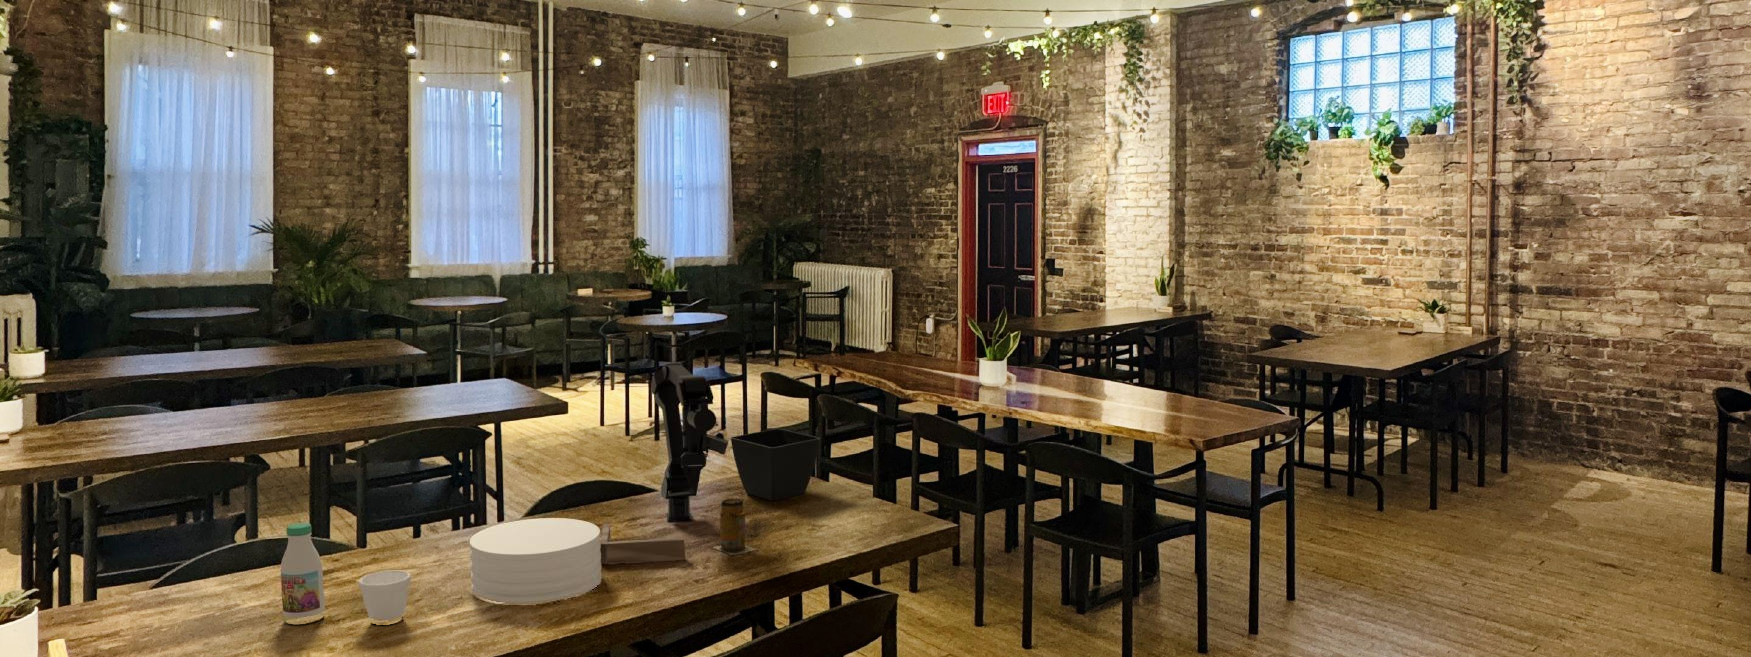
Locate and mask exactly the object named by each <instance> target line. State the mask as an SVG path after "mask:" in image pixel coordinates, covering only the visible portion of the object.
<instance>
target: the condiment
mask: <svg viewBox="0 0 1751 657" xmlns="http://www.w3.org/2000/svg"><path fill="white" fill-rule="evenodd" d="M719 514H720V516H719V518H720V520H719V522H720V523H719V525H720V526H719V527H720V533H719V534H720V545H715V546H713V547H712V548H713V549H716V550H717V551H720V552H724V553H725V554H728V555H730V556H731V555H739V554H745V553H748V552H753V551H757V549H756V548H754V547H751V546H748V545H746V512H745V510H744V501H743V500H742V499H740V498H726V499H723V500H722V501H721V511H720V513H719Z"/></svg>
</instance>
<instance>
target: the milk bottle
mask: <svg viewBox="0 0 1751 657" xmlns="http://www.w3.org/2000/svg"><path fill="white" fill-rule="evenodd" d="M312 530H313V528H312V525H311V523H310V522H309V523H308V522H297V523H292V524H289V525H287V526H286V530H285V531H286V538H287V539H288V540H287V541H288V542H287V546H286V550H285V551H284V554H283V557H282V558H281V563H280V582H281V583H280V584H281V599H282V600H281V602H282V604H281V605H282V615H284V616H286V617H287V618H301V617H307V616H313V615H317V614H319V613H321V612H323V611H324V609H325V606H326V605H325V590H324V576H323V575H324V574H323V566H322V561H321V560H322V559H321V556H320V555H319V554H320V553H319V552H318V550H317V549H316V547H315V545H314V543H313V541H312V537H311V535H313V533H312V532H313V531H312ZM325 610H326V609H325Z"/></svg>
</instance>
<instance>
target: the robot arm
mask: <svg viewBox="0 0 1751 657" xmlns="http://www.w3.org/2000/svg"><path fill="white" fill-rule="evenodd" d="M650 391H651V393H652V395H653V398H654V402H655V403H656V404H657V406H658V407H659V408H660V409H661V411H662V419H663V425H664V434H665V441H666V448H667V456H668V463H667V466H666V468H665V471H664V477H663V480H662V483H661V486H660V495H661V496H662V497H663V498H664V500H667V506H668V507H667V508H668V509H667V510H668V511H667V514H666V521H667V522H668V523H670V522H684V521H685V522H686V521H692V520H693V516H692V512H691V504H690V503H691V502H690V500H691V499H690V497H697V493H698V490H699V489H698V488H699V483H700V479H701V473H702V470H703V469H704V468H705V467H706V466H707V458H708V456H709V450H710V451H713V452H715V453H718V454H720V455H722V456H723V455H725V453H726V451H727V448H728V445H729V440H728V439H727V438H725V434H724V433H723V432H720V431H719V432H717V433H716V434H715V435H714V434H708V432H710V431H711V430H713V429H714V428H715V425H717V416H716V414H715V412H714V411H713V410H711V409H709V405H713V404H714V395H713V391H712V388H711V385H710V383H709V381H708V380H707V379H706V377H705V376H704V375H699V374H698V375H697V374H696V375H695V374H692V373H691V372H690V371H689V370H688V369H686V367H685V366H684V364H683V363H681V362H669V363H665V364H663V365H662V368H661V369H660V370H658V371H657V372H655V374H654V375H653V376H652V380H651V383H650ZM680 405H681V409H682V410H681V413H682V415H681V413H680ZM681 416H682V420H681Z"/></svg>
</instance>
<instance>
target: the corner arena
mask: <svg viewBox="0 0 1751 657" xmlns="http://www.w3.org/2000/svg"><path fill="white" fill-rule="evenodd" d="M600 543H601V548H600V552H601V560H600V562H601V564H609V565H619V564H618V563H626V564H640V563H641V564H643V563H661V562H674V561H675V562H676V560H679V561H685V538H684V537H677V538H676V537H674V538H673V537H672V538H657V539H656V538H655V539H654V538H653V539H640V540H621V541H620V540H619V541H618V540H617V541H611V524H610V523H603V527H602V532H601V535H600Z"/></svg>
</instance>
